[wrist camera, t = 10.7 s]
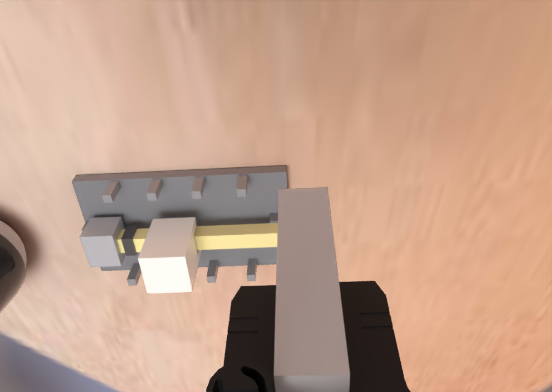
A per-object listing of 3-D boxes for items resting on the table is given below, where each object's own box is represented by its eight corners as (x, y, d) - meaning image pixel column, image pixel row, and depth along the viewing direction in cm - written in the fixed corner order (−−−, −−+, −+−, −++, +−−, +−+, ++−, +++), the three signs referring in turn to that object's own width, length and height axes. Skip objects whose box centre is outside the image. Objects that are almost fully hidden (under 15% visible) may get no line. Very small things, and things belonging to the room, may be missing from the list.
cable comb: (105, 263, 53) (90, 296, 49) (76, 175, 47) (56, 203, 43) (291, 256, 52) (292, 288, 48) (286, 165, 46) (286, 193, 42)
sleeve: (160, 252, 48) (147, 293, 43) (153, 218, 46) (137, 258, 41) (201, 250, 48) (192, 291, 43) (195, 217, 46) (185, 256, 41)
